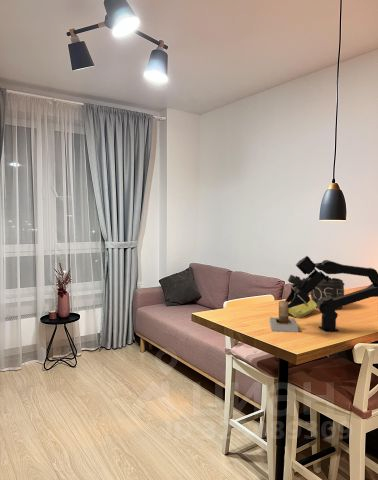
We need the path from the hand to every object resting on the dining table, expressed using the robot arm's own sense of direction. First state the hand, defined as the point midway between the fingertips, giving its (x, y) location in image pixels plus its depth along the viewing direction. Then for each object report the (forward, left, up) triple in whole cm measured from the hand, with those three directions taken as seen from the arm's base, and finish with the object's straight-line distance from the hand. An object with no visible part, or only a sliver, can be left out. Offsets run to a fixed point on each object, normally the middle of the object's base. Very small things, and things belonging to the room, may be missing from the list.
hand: (286, 305), depth 167 cm
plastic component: (+21, -19, -11) cm, 31 cm away
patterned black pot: (+32, -42, -11) cm, 53 cm away
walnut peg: (+1, +1, -11) cm, 11 cm away
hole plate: (+1, +1, -11) cm, 11 cm away
